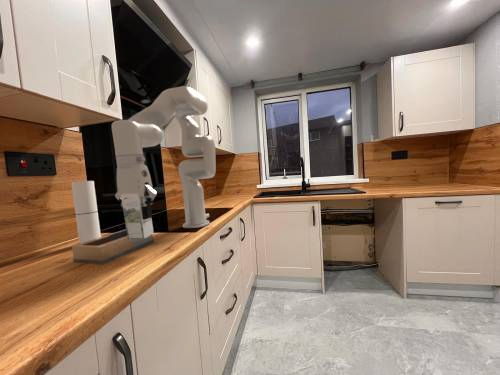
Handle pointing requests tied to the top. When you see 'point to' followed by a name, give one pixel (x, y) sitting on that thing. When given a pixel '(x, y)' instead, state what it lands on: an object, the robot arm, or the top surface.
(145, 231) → the syrup box
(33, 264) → the top surface
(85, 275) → the top surface
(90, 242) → the shallow storage tray
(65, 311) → the top surface
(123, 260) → the top surface
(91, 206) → the cylindrical container
